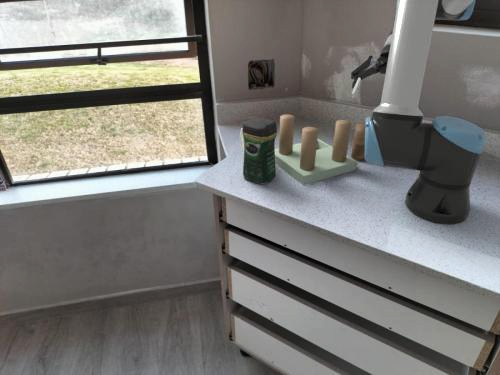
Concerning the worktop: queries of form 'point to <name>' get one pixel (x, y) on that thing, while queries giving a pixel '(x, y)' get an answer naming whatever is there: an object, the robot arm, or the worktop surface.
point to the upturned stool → (313, 152)
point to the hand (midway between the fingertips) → (373, 101)
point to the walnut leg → (359, 142)
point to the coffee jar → (259, 149)
